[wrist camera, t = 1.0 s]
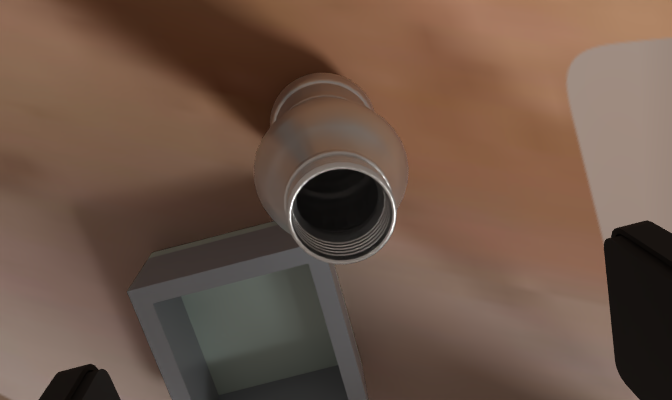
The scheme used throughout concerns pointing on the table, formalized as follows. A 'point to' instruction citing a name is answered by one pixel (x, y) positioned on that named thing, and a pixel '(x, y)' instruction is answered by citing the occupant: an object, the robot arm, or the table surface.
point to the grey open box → (248, 320)
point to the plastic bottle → (331, 169)
